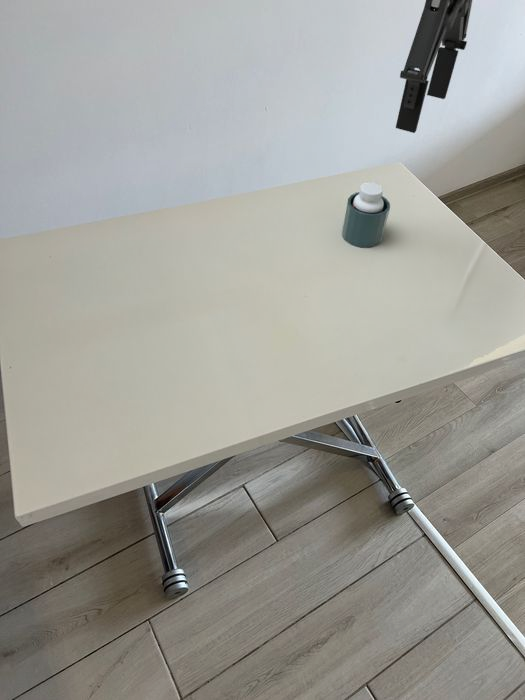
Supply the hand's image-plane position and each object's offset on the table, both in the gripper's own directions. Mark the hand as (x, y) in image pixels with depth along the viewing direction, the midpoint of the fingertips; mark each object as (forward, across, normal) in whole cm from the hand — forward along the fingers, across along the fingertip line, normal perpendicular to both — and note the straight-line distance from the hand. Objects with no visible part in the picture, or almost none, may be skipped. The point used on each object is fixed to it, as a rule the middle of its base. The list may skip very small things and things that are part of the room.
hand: (421, 112), depth 77 cm
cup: (+26, -4, -6) cm, 27 cm away
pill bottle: (+26, -4, -6) cm, 27 cm away
